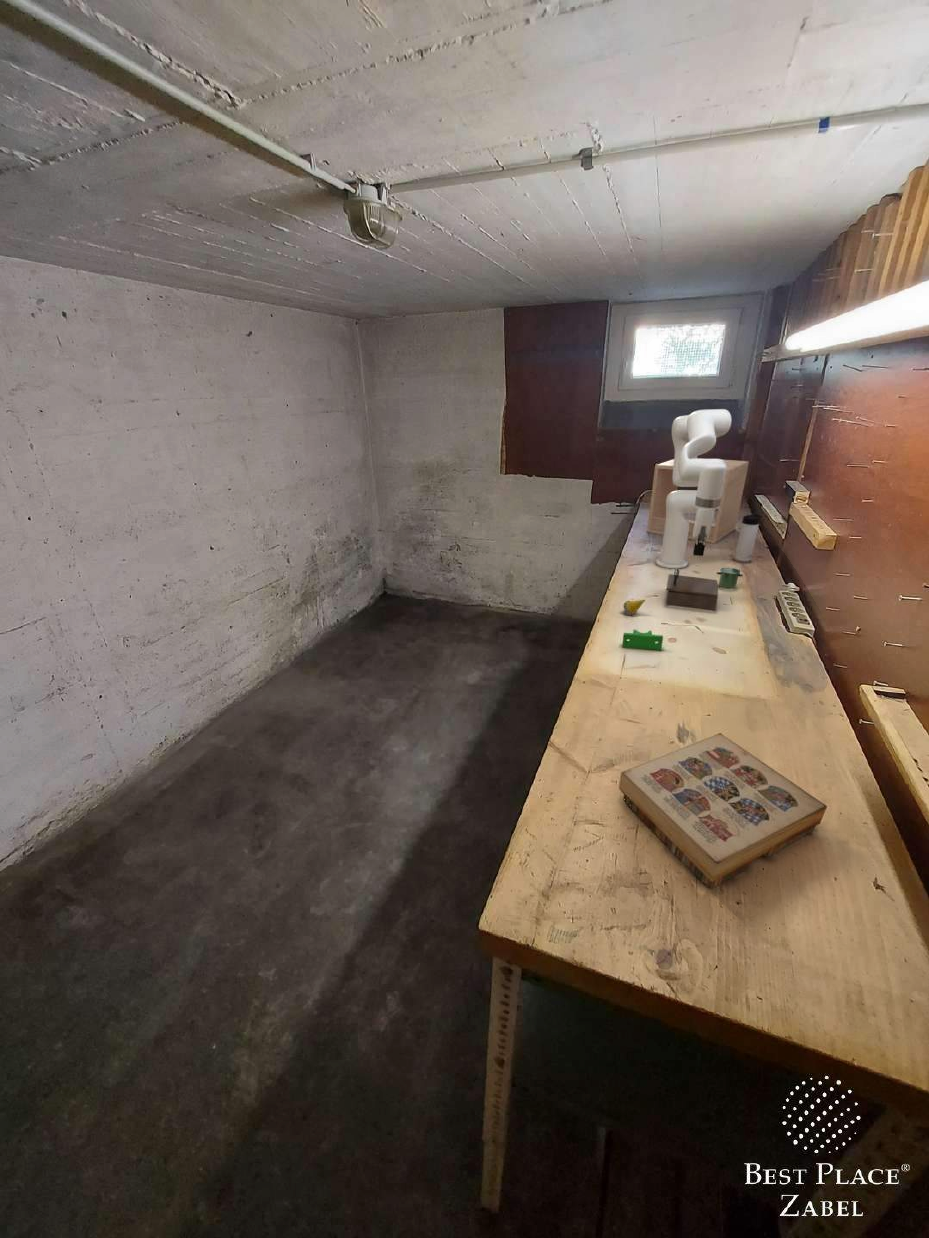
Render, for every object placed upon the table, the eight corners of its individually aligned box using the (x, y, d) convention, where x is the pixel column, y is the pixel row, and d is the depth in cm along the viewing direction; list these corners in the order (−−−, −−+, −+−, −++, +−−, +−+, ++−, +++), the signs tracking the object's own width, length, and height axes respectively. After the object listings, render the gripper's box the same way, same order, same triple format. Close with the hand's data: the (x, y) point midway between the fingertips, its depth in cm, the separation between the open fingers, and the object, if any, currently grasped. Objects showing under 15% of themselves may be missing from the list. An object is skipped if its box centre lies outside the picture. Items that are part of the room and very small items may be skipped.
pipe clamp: (659, 644, 148) (662, 631, 146) (661, 650, 145) (663, 637, 143) (621, 641, 150) (623, 628, 148) (622, 647, 147) (623, 633, 145)
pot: (713, 589, 183) (717, 572, 180) (713, 583, 189) (717, 566, 186) (740, 592, 180) (744, 574, 177) (739, 586, 185) (743, 568, 182)
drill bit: (629, 610, 171) (651, 597, 164) (628, 622, 168) (650, 609, 160) (618, 602, 170) (639, 589, 162) (616, 614, 167) (639, 601, 159)
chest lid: (665, 590, 169) (668, 578, 167) (668, 576, 181) (670, 564, 179) (717, 597, 163) (720, 584, 161) (716, 582, 175) (719, 570, 173)
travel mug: (753, 563, 206) (763, 517, 198) (736, 563, 208) (746, 517, 199) (748, 558, 212) (758, 513, 203) (732, 558, 213) (741, 513, 205)
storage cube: (735, 529, 252) (749, 461, 237) (715, 543, 233) (729, 470, 218) (669, 520, 273) (678, 457, 258) (647, 532, 255) (655, 464, 240)
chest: (665, 606, 172) (668, 591, 169) (668, 591, 183) (670, 577, 181) (714, 612, 165) (717, 597, 163) (713, 596, 177) (716, 582, 175)
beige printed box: (709, 745, 107) (608, 787, 97) (715, 722, 104) (611, 762, 94) (823, 828, 86) (709, 891, 76) (834, 802, 84) (717, 864, 74)
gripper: (695, 496, 166) (687, 547, 175) (694, 507, 154) (685, 561, 163) (719, 497, 163) (710, 549, 172) (720, 508, 151) (710, 563, 160)
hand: (698, 554), depth 167 cm, fingers closed
